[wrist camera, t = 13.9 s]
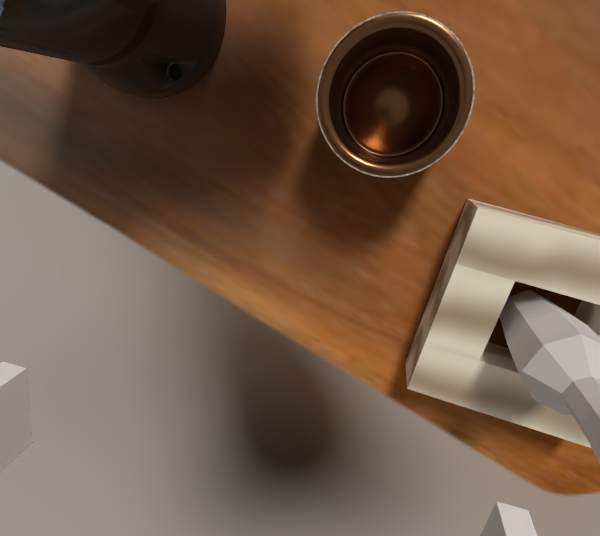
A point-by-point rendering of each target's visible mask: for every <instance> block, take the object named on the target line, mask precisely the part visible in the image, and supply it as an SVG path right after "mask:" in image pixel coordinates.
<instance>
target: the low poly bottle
mask: <svg viewBox="0 0 600 536" xmlns="http://www.w3.org/2000/svg"><path fill="white" fill-rule="evenodd" d="M500 320H501V323H502V327H503V331H504V334H505V338H506V342H507V345H508V348H509V350H510V353H511V355H512V358H513V360H514V363H515V365H516V368H517V370H518V372H519V374H520V376H521V378H522V379H523V381H524V383H525V385H526V387H527V389H528V391H529V393H530V394H531V396H532V398H533V399H534V400H536V401H538V402H540V403H542V404H543V405H545V406H547V407H549V408H551V409H553V410H555V411H557V412H559V413H560V414H562V415H572V416H573V417H574V419H575V420H576V422H577V423H578V425H579V427H580V428H581V430H582V431H583V433H584V434H585V436H586V437H587V439H588V441H589V443H590V445H591V447H592V449H593V452H594V454H595V456H596V458H597V460H598V462H599V464H600V337H599V336H598V335H597V334H596V333H595V332H594V331H593V330H592V329H591V328H590V327H589V326H588V325H586V324H585V323H583V322H582V321H580V320H579V319H577V318H576V317H574V316H572V315H571V314H569V313H568V312H566V311H565V310H563V309H562V308H560V307H559V306H557V305H556V304H554V303H553V302H551V301H550V300H548V299H546V298H545V297H543V296H541V295H539V294H537V293H535V292H533V291H531V290H527V291H524V292H521V293H518V294H515V295H512V296H509V298H508V299H507V301H506V303H505V305H504V307H503V309H502V312H501V314H500Z"/></svg>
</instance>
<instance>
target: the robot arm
mask: <svg viewBox="0 0 600 536" xmlns="http://www.w3.org/2000/svg"><path fill="white" fill-rule="evenodd" d="M225 21H226V0H0V46H2V47H7V48H12V49H16V50H21V51H26V52H31V53H35V54H40V55H45V56H50V57H55V58H59V59H64V60H69V61H74V62H79V63H80V64H82V65H83V66H84V67H85V68H87V69H88V70H89V71H90V72H92V73H93V74H94V75H96V76H97V77H98V78H99V79H101V80H102V81H104V82H105V83H106V84H108V85H110V86H112V87H114V88H116V89H118V90H120V91H123V92H125V93H129V94H133V95H139V96H145V97H166V96H171V95H174V94H177V93H180V92H182V91H184V90H186V89H187V88H189V87H191V86H192V85H193V84H195V83H196V82H197V81H198V80H199V79H200V78H201V77H202V76H203V75H204V74H205V73H206V71H207V70H208V69H209V67H210V66H211V64H212V62H213V61H214V59H215V57H216V55H217V53H218V50H219V48H220V45H221V42H222V38H223V34H224V29H225ZM31 443H32V432H31V420H30V406H29V392H28V379H27V368H24V367H21V366H17V365H14V364H10V363H7V362H1V363H0V472H1V471H2V470H3V469H4V468H5V467H6V466H7V465H8V464H9V463H11V462H12V461H13V460H14V459H15V458H16V457H17V456H18V455H19V454H20V453H21V452H22V451H23V450H24V449H26V448H27V447H28V446H29V445H30V444H31ZM480 536H537V534H536V532H535V529H534V526H533V523H532V520H531V517H530V515H529V512H528V510H525V509H521V508H518V507H514V506H511V505H507V504H503V503H500V502H496V504H495V506H494V508H493V510H492V512H491V515H490V516H489V518H488V520H487V523H486V525H485V527H484V529H483V531H482V533H481V535H480Z"/></svg>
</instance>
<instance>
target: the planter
mask: <svg viewBox="0 0 600 536" xmlns="http://www.w3.org/2000/svg"><path fill="white" fill-rule="evenodd" d="M474 94H475V81H474V73H473V68H472V65H471V61H470V59H469V56H468V54H467V52H466V50H465V48H464V46H463V45H462V43H461V42H460V40H459V39H458V38H457V36H456V35H455V34H454V33H453V32H452V31H451V30H450V29H449V28H447V27H446V26H445V25H444V24H442V23H441V22H439V21H437V20H436V19H434V18H431V17H429V16H426V15H424V14H420V13H416V12H409V11H395V12H387V13H383V14H379V15H376V16H373V17H371V18H369V19H367V20H364V21H363V22H361V23H359V24H358V25H356V26H355V27H353V28H352V29H351V30H350V31H348V32H347V33H346V34H345V35H344V36H343V37H342V38H341V39H340V40H339V41H338V42H337V44H336V45H335V46H334V48H333V49H332V50H331V52H330V54H329V55H328V57H327V59H326V61H325V63H324V65H323V68H322V70H321V73H320V76H319V80H318V85H317V91H316V111H317V118H318V122H319V126H320V129H321V131H322V134H323V136H324V138H325V140H326V142H327V143H328V145H329V147H330V148H331V149H332V151H333V152H334V153H335V154H336V155H337V156H338V157H339V158H340V159H341V160H342V161H343V162H344V163H346V164H347V165H348V166H350V167H351V168H353V169H355V170H357V171H359V172H361V173H364V174H367V175H370V176H375V177H381V178H397V177H404V176H408V175H412V174H415V173H418V172H420V171H422V170H424V169H426V168H428V167H430V166H431V165H433V164H435V163H436V162H437V161H439V160H440V159H441V158H442V157H444V156H445V155H446V154H447V153H448V152H449V151H450V150H451V149H452V147H453V146H454V145H455V144H456V142H457V141H458V140H459V138H460V137H461V135H462V133H463V131H464V130H465V128H466V125H467V123H468V121H469V118H470V115H471V112H472V108H473V103H474Z"/></svg>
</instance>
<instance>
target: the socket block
mask: <svg viewBox="0 0 600 536" xmlns="http://www.w3.org/2000/svg"><path fill="white" fill-rule="evenodd" d="M515 281H517V282H521V283H524V284H528V285H531V286H535V287H538V288H542V289H545V290H549V291H552V292H556V293H559V294H563V295H566V296H570V297H573V298H577V299H580V300H581V302H580V304H579V306H578V308H577V310H576V311H575V313H574V315H573V316H574V317H576V318H577V319H579V320H580V321H582V322H583V323H585V324H586V325H588V326H589V327H590V328H591V329H592V330H593V331H594V332H595V333H596V334H597V335H598V336H599V337H600V234H599V233H595V232H591V231H588V230H584V229H580V228H576V227H573V226H569V225H565V224H561V223H558V222H554V221H550V220H547V219H543V218H539V217H535V216H532V215H528V214H524V213H520V212H517V211H513V210H509V209H505V208H502V207H498V206H494V205H490V204H487V203H483V202H479V201H475V200H472V199H468V198H467V201H466V204H465V206H464V209H463V211H462V214H461V217H460V219H459V222H458V225H457V227H456V230H455V233H454V235H453V238H452V240H451V243H450V246H449V248H448V251H447V254H446V256H445V259H444V262H443V264H442V267H441V269H440V272H439V275H438V277H437V280H436V283H435V285H434V288H433V291H432V293H431V296H430V298H429V301H428V304H427V306H426V309H425V312H424V314H423V317H422V320H421V322H420V325H419V327H418V330H417V333H416V335H415V338H414V341H413V343H412V346H411V349H410V351H409V354H408V356H407V359H406V362H405V365H406V380H407V389H409V390H412V391H416V392H419V393H422V394H425V395H428V396H431V397H434V398H437V399H440V400H444V401H447V402H450V403H453V404H456V405H459V406H462V407H465V408H469V409H472V410H475V411H478V412H481V413H484V414H487V415H490V416H493V417H497V418H500V419H503V420H506V421H509V422H512V423H515V424H518V425H521V426H525V427H528V428H531V429H534V430H537V431H540V432H543V433H546V434H549V435H553V436H556V437H559V438H562V439H565V440H568V441H571V442H574V443H577V444H581V445H584V446H587V447H590V448H592V447H591V445H590V443H589V441H588V439H587V437H586V436H585V434H584V433H583V431H582V430H581V428H580V427H579V425H578V423H577V422H576V420H575V419H574V417H573V416H572V415H562V414H560V413H559V412H557V411H555V410H553V409H551V408H549V407H547V406H545V405H543V404H542V403H540V402H538V401H536V400H534V399H533V398H532V396H531V394H530V393H529V391H528V389H527V387H526V385H525V383H524V381H523V379H522V378H521V376H520V374H519V372H518V370H517V368H516V365H515V363H514V360H513V358H512V355H511V353H510V350H509V348H507V347H504V346H501V345H497V344H494V343H491V342H488V341H489V338H490V336H491V334H492V332H493V329H494V327H495V325H496V323H497V321H498V318H499V316H500V314H501V312H502V309H503V307H504V305H505V303H506V301H507V298H508V296H509V294H510V292H511V289H512V287H513V285H514V283H515Z"/></svg>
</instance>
